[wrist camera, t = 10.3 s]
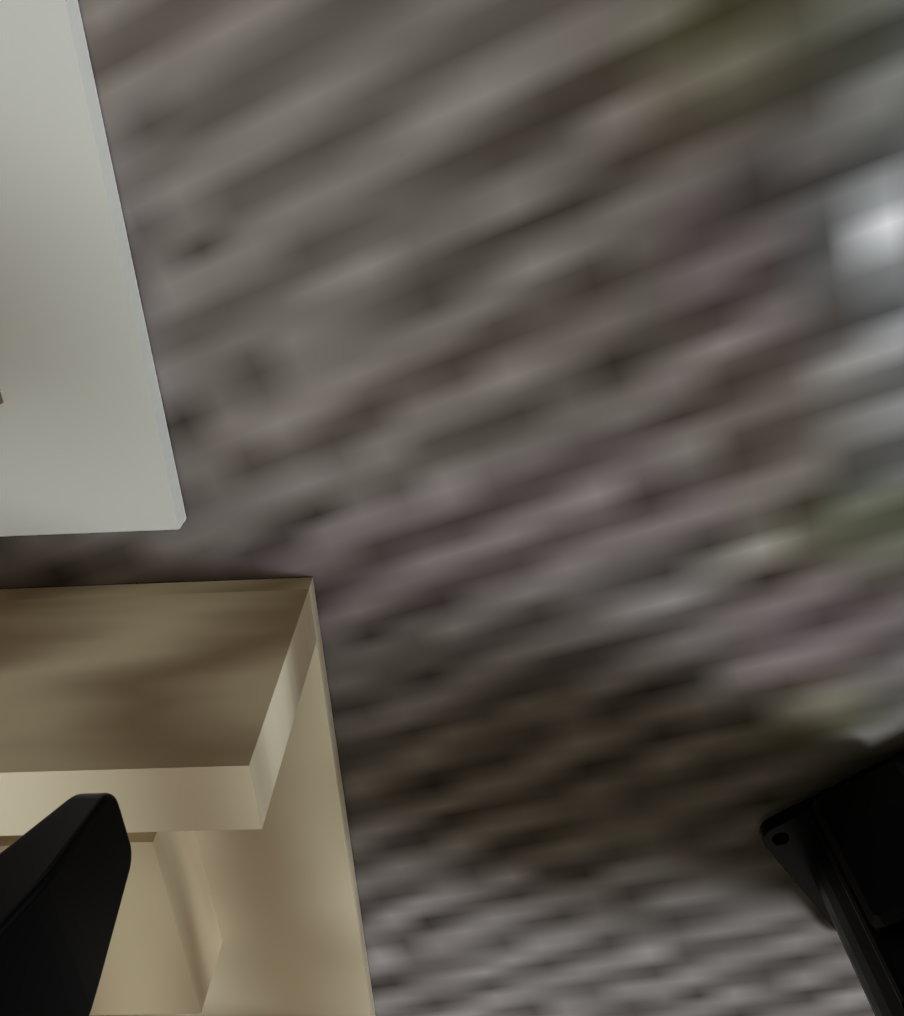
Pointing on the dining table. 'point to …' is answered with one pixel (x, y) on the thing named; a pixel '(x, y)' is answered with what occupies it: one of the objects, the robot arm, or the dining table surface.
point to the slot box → (194, 787)
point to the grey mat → (70, 303)
